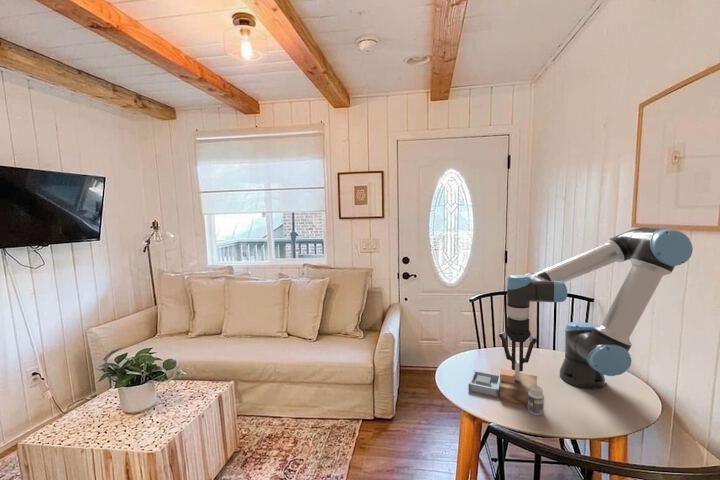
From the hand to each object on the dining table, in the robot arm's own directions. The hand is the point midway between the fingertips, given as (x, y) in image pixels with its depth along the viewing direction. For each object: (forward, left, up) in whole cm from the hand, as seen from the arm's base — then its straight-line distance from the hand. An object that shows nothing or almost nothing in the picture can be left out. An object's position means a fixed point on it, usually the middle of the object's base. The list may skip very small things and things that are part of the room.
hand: (517, 378), depth 124 cm
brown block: (-1, 0, -6) cm, 6 cm away
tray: (+11, 0, -6) cm, 13 cm away
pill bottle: (-6, +10, -6) cm, 13 cm away
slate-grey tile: (+12, 0, -3) cm, 12 cm away
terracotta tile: (+3, 0, -1) cm, 3 cm away
